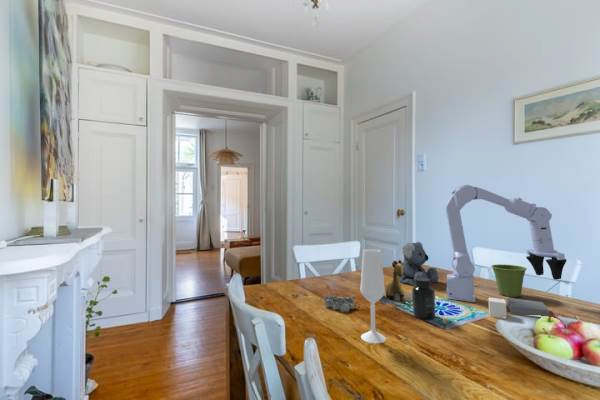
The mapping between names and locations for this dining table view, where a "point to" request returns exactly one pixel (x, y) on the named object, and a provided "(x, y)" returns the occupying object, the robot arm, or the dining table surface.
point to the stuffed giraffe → (395, 287)
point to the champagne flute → (372, 288)
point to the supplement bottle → (423, 299)
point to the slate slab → (527, 307)
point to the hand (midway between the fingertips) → (548, 276)
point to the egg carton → (339, 303)
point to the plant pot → (509, 279)
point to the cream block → (497, 307)
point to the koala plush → (416, 264)
